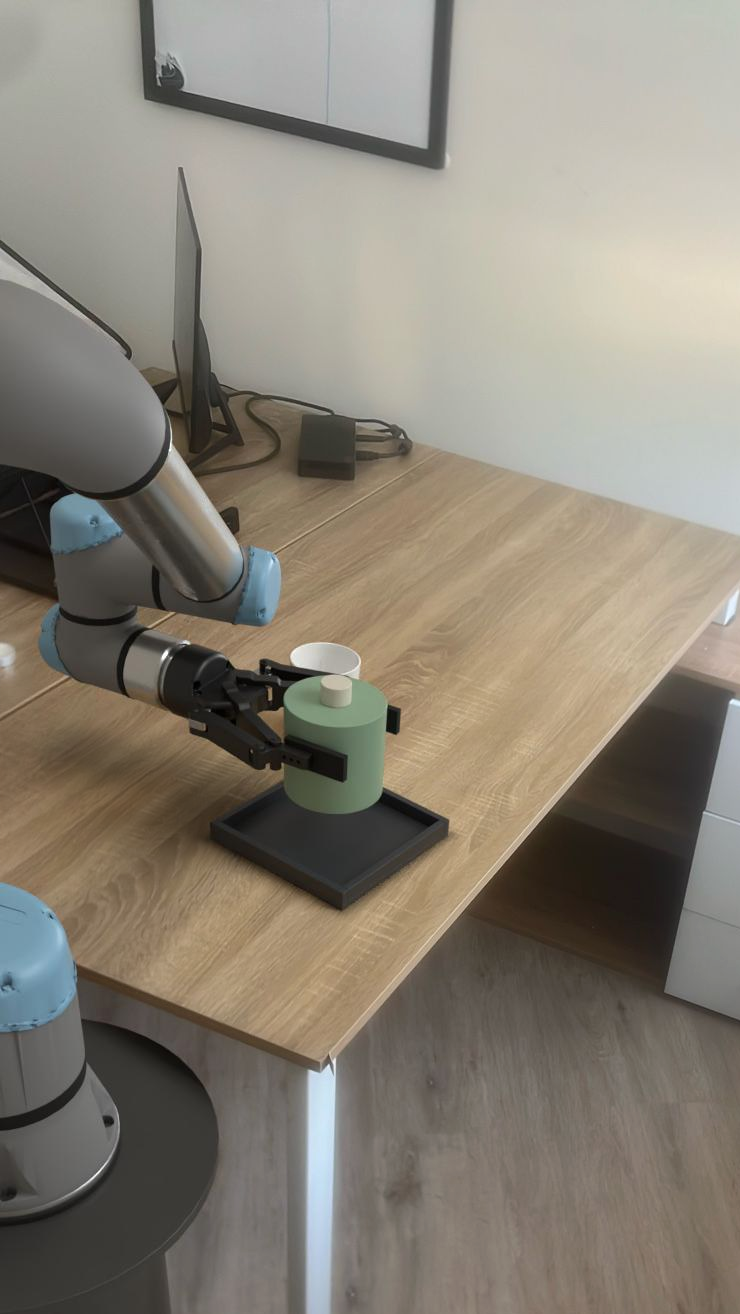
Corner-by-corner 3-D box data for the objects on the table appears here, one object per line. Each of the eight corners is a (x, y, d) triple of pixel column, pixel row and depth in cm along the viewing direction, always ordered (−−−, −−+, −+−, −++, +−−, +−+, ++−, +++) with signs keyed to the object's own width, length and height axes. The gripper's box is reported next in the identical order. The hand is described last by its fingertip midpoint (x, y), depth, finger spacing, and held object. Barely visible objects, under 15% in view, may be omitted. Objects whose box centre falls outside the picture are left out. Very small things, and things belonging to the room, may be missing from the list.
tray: (342, 910, 125) (342, 893, 124) (210, 838, 131) (209, 821, 130) (448, 835, 137) (449, 819, 136) (322, 773, 143) (323, 757, 142)
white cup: (312, 759, 145) (313, 681, 139) (276, 727, 149) (276, 650, 143) (370, 743, 149) (374, 666, 143) (334, 712, 154) (336, 636, 147)
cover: (339, 826, 125) (342, 719, 117) (262, 786, 129) (261, 680, 121) (402, 786, 132) (409, 682, 124) (328, 749, 135) (330, 647, 128)
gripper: (244, 668, 141) (423, 729, 136) (114, 758, 124) (312, 831, 119) (242, 604, 136) (427, 665, 131) (107, 689, 119) (313, 763, 114)
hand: (372, 744), depth 125 cm, fingers closed on cover, 10 cm apart
